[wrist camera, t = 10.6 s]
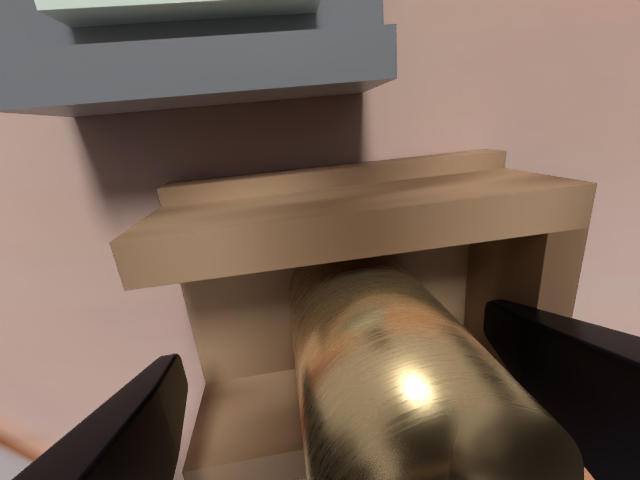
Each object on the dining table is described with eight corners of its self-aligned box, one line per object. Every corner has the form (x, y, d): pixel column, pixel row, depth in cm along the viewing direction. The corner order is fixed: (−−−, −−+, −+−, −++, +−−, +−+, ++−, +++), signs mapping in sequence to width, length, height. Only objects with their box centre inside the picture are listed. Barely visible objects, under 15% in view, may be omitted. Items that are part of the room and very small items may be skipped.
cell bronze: (404, 229, 10) (665, 424, 3) (404, 334, 11) (596, 627, 5) (280, 246, 10) (302, 500, 3) (295, 353, 11) (333, 700, 4)
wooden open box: (485, 149, 11) (601, 159, 7) (470, 353, 13) (549, 441, 10) (167, 182, 10) (101, 216, 6) (218, 396, 12) (195, 513, 9)
